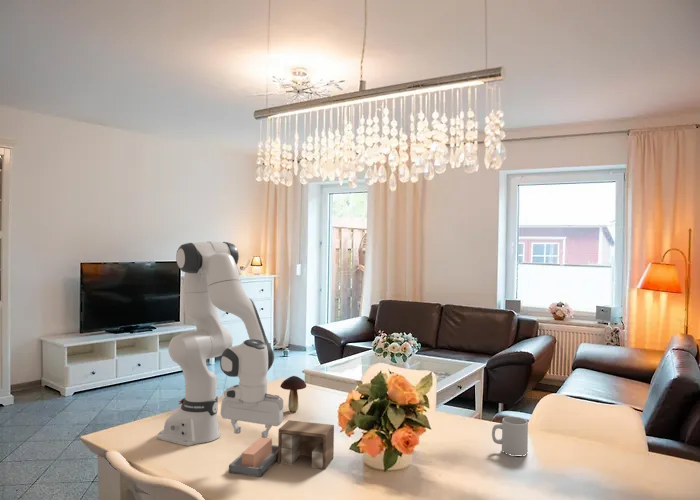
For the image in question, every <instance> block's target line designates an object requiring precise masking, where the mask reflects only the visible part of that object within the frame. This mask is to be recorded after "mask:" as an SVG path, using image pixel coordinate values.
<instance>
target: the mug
mask: <svg viewBox="0 0 700 500" xmlns="http://www.w3.org/2000/svg"><path fill="white" fill-rule="evenodd" d="M497 429H500V430H502V431H501V438H500V439H498V438H496V431H497ZM491 430H492V431H491V438H492V441H493V443H495V444H498V445H501V452H502V451H504V452H505V453H507V454H511V455H525V454H527V455H528V453H527V452H528V448H529V447H528V442H529V440H528V438H529V437H528V435H529V422H528V420H527V419H524V418H521V417H518V416H517V417H516V416H505V417H503V418H502V422H501V423H496V424H494V425H493V426H492V429H491Z"/></svg>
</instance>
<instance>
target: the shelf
mask: <svg viewBox="0 0 700 500" xmlns="http://www.w3.org/2000/svg"><path fill="white" fill-rule="evenodd" d="M334 436H335V425H334V424H327V423H320V422H319V423H317V422H308V421H300V420H299V421H298V420H291V419H289V420H287V421H286V422H285V423H283V425H281V427H279V429H278V440H277V441H278V442H277V443H278V445H277V446H278V460H277V464H283V465H293V464H294V463H295V462H296V461H297V459H298V458H299V457H300V456H306V457H311V468H314V469H320V470H321V469H323V470H326V469H327V468H328V467H329V465H330V464H331V462H332V461H333V459H334V448H335V446H334V442H335V437H334Z"/></svg>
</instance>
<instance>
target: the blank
mask: <svg viewBox="0 0 700 500" xmlns="http://www.w3.org/2000/svg"><path fill="white" fill-rule="evenodd" d="M272 445H273V438H271V437H267V438H262V437H259V438H258V439H257V440H255V442H253V443H252V444H251V445H250V446H249V447H247V448H246V449H245V450H244V451H242V452H241V454H242V466H249V467H258V466H259V465H260V464H261V463H262V462H263V461H264V460H265V459H266V458H267V457H269V456H270V455H271V454H272Z"/></svg>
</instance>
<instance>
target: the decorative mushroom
mask: <svg viewBox="0 0 700 500" xmlns="http://www.w3.org/2000/svg"><path fill="white" fill-rule="evenodd" d="M280 388H282V389H283V390H286V391H287V390H288V391H289V395H288V402H287V403H288V404H287V405H288V406H287V407H288V410H289V411H291V412H293V413H294V412H297V411H298V409H299V392H298V391H299V390H303V389H306V388H307V383H306V381H305V380H304V379H302V378H301V377H299V376H297V375H292V376H288V378H286V379H284V380H283V381H282V382H281V384H280Z"/></svg>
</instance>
